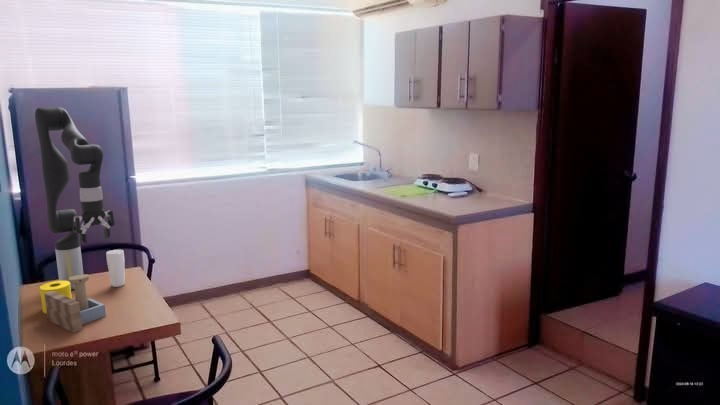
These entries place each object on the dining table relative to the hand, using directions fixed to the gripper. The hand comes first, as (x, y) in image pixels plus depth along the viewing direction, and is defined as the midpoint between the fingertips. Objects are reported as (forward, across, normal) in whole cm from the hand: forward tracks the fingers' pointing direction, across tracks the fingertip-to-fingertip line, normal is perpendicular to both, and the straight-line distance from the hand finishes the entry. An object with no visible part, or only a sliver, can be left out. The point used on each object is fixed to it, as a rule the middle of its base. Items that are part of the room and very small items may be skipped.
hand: (95, 240), depth 198 cm
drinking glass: (+26, -15, -15) cm, 34 cm away
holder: (+26, +10, +7) cm, 29 cm away
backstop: (+26, +18, +8) cm, 32 cm away
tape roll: (+26, +12, -9) cm, 31 cm away
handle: (+26, +10, +6) cm, 28 cm away
